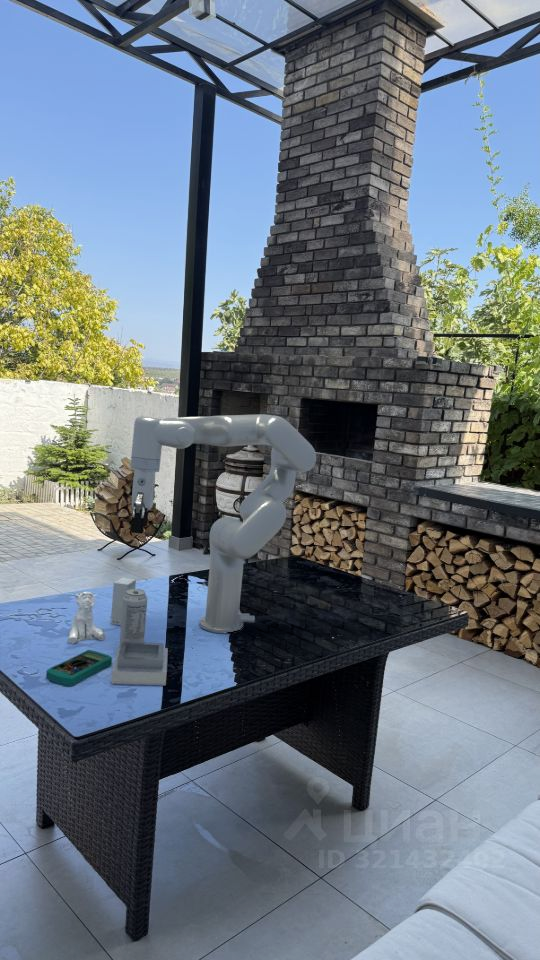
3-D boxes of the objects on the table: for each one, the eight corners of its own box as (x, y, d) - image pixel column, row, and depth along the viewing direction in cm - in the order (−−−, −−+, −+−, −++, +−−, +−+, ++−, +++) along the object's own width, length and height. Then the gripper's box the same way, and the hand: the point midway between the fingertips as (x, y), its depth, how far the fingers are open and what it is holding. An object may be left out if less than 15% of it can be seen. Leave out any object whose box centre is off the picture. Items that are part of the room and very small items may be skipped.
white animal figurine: (68, 645, 159) (71, 599, 157) (60, 633, 166) (62, 588, 164) (105, 640, 164) (108, 596, 162) (95, 629, 171) (98, 586, 170)
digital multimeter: (43, 681, 139) (43, 668, 139) (88, 658, 153) (88, 647, 152) (69, 689, 136) (70, 676, 136) (112, 666, 150) (113, 654, 150)
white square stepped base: (166, 659, 155) (168, 640, 155) (165, 685, 142) (167, 664, 141) (117, 658, 154) (118, 638, 153) (110, 684, 140) (112, 662, 139)
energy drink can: (142, 644, 164) (146, 587, 162) (145, 653, 158) (149, 595, 156) (118, 644, 162) (122, 588, 160) (120, 654, 156) (124, 595, 154)
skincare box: (124, 626, 175) (127, 584, 173) (110, 624, 175) (113, 582, 174) (133, 619, 180) (136, 579, 179) (119, 617, 181) (122, 576, 180)
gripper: (157, 469, 156) (150, 537, 158) (162, 463, 173) (156, 524, 175) (126, 466, 155) (119, 534, 157) (134, 460, 172) (128, 521, 174)
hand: (138, 529), depth 166 cm, fingers open, 9 cm apart
